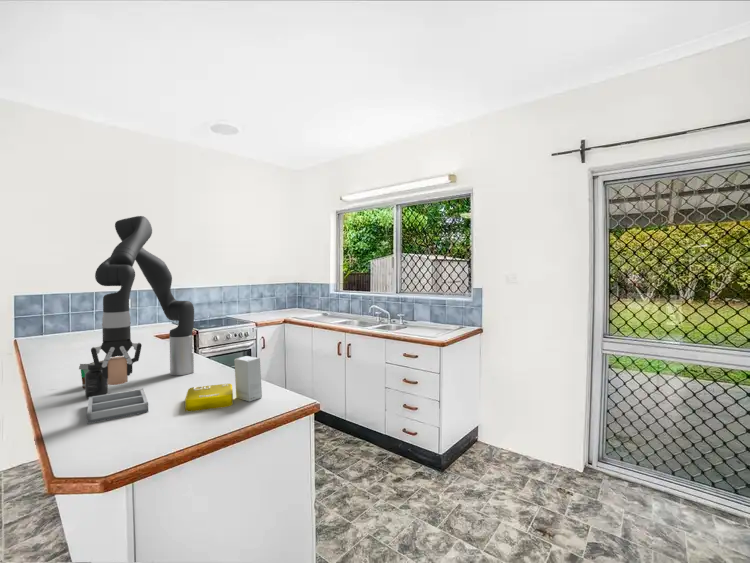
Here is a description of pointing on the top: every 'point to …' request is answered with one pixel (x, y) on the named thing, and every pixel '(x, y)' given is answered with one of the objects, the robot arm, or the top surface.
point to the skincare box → (248, 378)
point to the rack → (116, 405)
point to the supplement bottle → (95, 382)
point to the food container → (84, 371)
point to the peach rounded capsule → (117, 371)
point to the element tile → (209, 397)
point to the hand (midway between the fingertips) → (117, 376)
